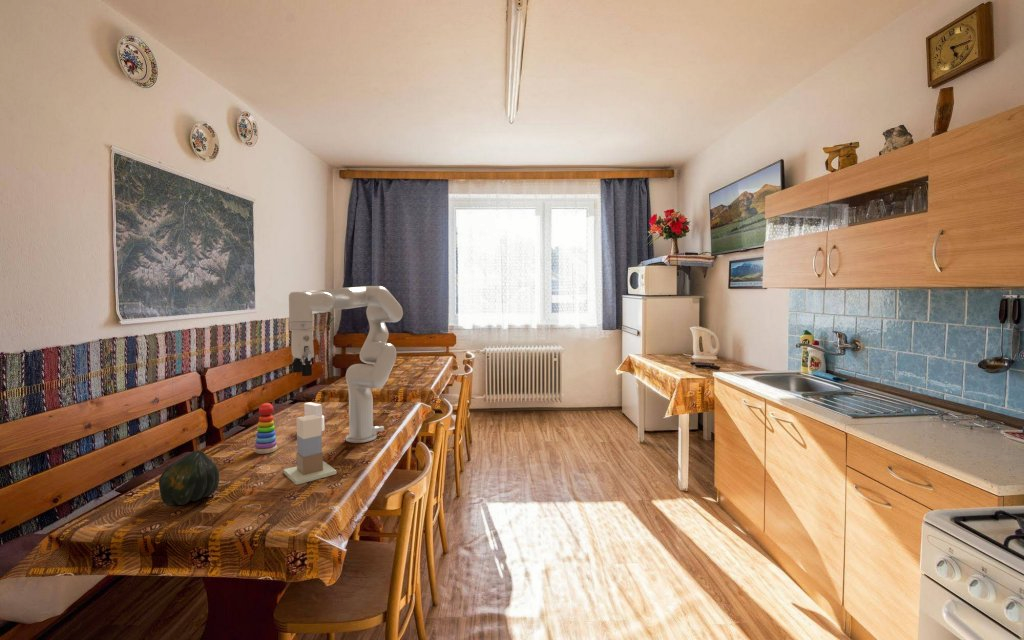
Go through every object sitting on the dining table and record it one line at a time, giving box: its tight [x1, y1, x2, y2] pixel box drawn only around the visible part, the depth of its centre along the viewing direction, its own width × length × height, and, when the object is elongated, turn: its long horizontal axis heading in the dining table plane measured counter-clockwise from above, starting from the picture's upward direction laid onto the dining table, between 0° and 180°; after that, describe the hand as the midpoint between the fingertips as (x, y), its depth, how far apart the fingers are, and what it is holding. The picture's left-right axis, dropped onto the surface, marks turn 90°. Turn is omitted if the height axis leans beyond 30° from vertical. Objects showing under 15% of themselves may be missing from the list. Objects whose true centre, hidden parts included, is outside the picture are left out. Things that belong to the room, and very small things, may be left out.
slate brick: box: [296, 434, 323, 457], centre depth 154 cm, size 6×6×6 cm
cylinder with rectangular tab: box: [303, 401, 325, 432], centre depth 202 cm, size 9×9×12 cm
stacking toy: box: [253, 402, 278, 455], centre depth 175 cm, size 8×8×19 cm
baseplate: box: [283, 452, 337, 486], centre depth 154 cm, size 13×13×7 cm
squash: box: [158, 449, 220, 507], centre depth 135 cm, size 14×15×15 cm
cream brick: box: [296, 414, 323, 439], centre depth 154 cm, size 6×6×6 cm
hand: (302, 374), depth 163 cm, fingers open, 9 cm apart
